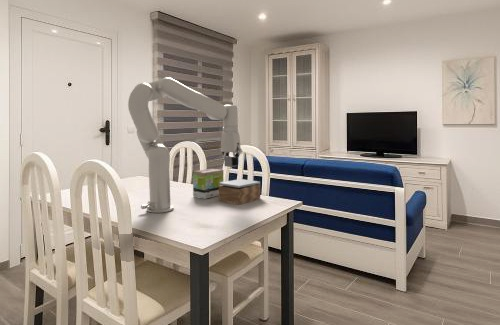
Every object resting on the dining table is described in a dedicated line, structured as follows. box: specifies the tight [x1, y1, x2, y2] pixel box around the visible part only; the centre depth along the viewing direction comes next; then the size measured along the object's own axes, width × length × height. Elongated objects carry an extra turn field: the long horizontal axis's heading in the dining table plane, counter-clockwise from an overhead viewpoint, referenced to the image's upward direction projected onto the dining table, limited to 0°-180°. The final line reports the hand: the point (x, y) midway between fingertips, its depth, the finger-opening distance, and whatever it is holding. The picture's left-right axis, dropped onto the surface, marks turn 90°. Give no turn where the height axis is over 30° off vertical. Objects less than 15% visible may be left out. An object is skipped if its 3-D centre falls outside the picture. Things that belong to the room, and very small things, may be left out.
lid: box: [219, 178, 261, 188], centre depth 187 cm, size 18×14×1 cm
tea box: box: [192, 168, 224, 200], centre depth 197 cm, size 15×10×15 cm, turn 143°
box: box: [218, 183, 261, 205], centre depth 188 cm, size 18×14×8 cm
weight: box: [223, 155, 239, 168], centre depth 178 cm, size 5×5×5 cm
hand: (231, 164), depth 179 cm, fingers closed on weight, 5 cm apart
